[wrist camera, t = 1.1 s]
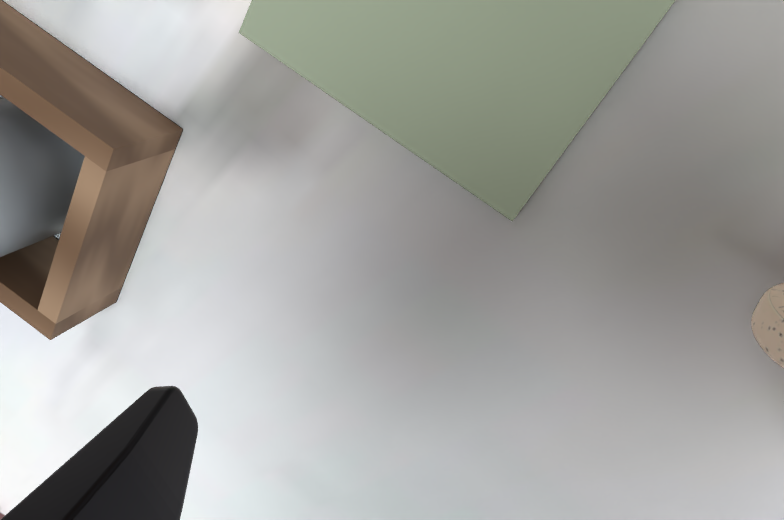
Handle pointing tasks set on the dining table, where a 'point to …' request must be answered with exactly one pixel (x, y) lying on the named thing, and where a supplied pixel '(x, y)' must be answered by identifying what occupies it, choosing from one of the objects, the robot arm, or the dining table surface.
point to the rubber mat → (464, 75)
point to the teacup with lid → (770, 323)
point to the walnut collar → (81, 177)
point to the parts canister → (32, 179)
